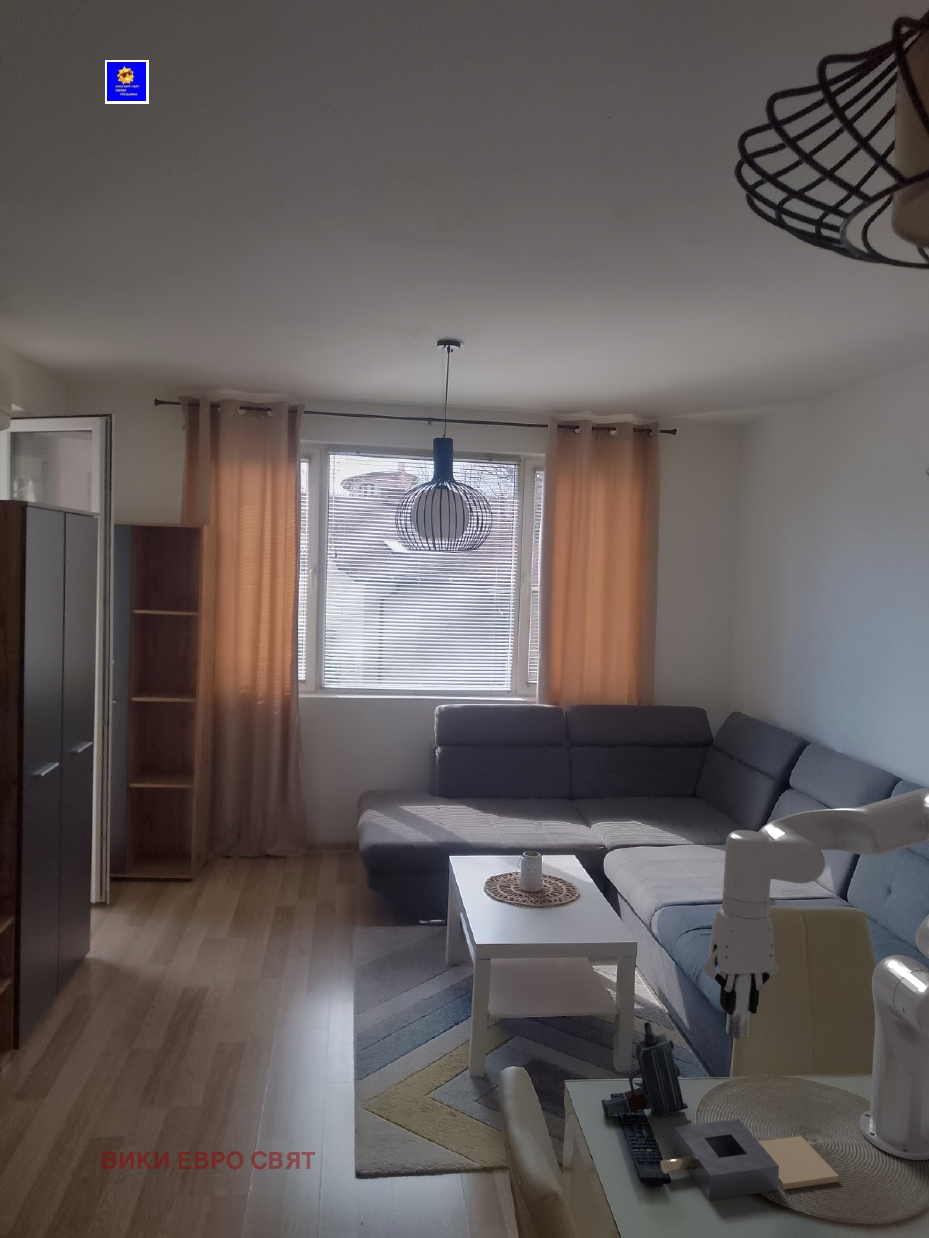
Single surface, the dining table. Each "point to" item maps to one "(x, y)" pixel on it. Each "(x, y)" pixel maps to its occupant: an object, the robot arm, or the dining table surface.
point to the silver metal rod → (740, 1007)
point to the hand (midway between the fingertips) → (738, 1009)
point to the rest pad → (798, 1163)
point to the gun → (651, 1080)
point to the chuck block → (723, 1159)
